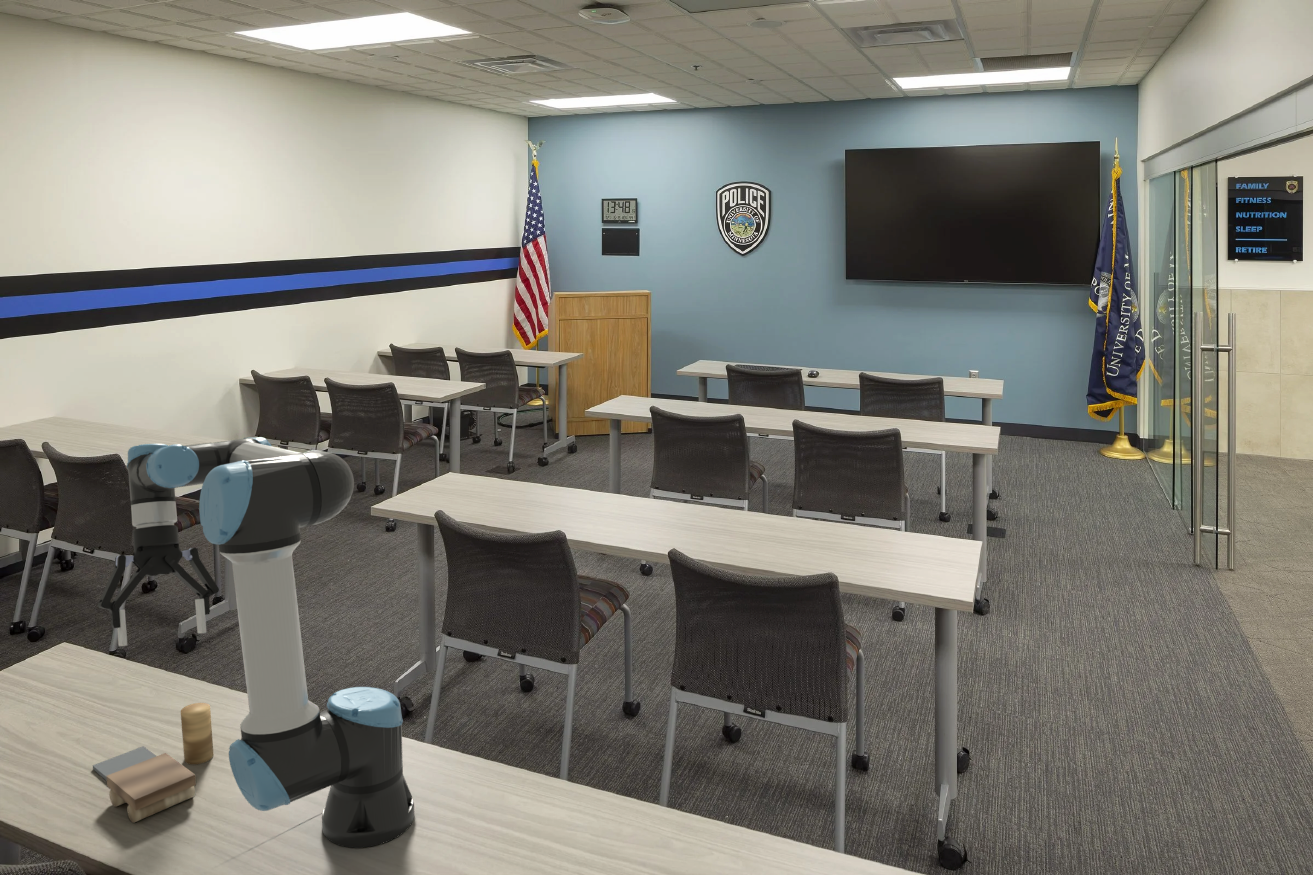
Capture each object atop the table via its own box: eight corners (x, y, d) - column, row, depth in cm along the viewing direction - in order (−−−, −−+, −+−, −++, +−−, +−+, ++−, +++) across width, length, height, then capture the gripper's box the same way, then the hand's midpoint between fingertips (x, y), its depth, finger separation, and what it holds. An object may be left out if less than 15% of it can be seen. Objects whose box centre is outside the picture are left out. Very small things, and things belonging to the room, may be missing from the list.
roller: (218, 756, 176) (215, 708, 174) (192, 767, 173) (188, 718, 171) (205, 747, 179) (202, 700, 177) (179, 758, 176) (175, 709, 174)
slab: (197, 800, 162) (195, 774, 162) (137, 826, 155) (134, 799, 154) (167, 777, 169) (165, 752, 168) (108, 801, 161) (106, 775, 160)
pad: (165, 766, 173) (165, 762, 172) (114, 787, 166) (113, 783, 165) (143, 749, 178) (143, 745, 178) (92, 769, 171) (92, 765, 171)
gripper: (217, 522, 186) (225, 628, 184) (74, 534, 169) (81, 651, 167) (230, 518, 181) (239, 627, 179) (84, 530, 163) (92, 651, 161)
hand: (163, 639), depth 173 cm, fingers open, 13 cm apart
